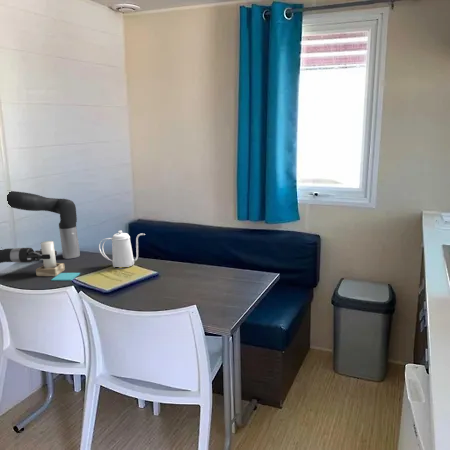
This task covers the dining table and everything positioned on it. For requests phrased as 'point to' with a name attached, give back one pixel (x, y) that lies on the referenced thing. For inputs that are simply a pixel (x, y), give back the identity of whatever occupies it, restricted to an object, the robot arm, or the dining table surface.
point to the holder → (50, 270)
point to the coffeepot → (121, 250)
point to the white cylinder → (48, 248)
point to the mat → (65, 277)
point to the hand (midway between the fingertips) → (53, 254)
